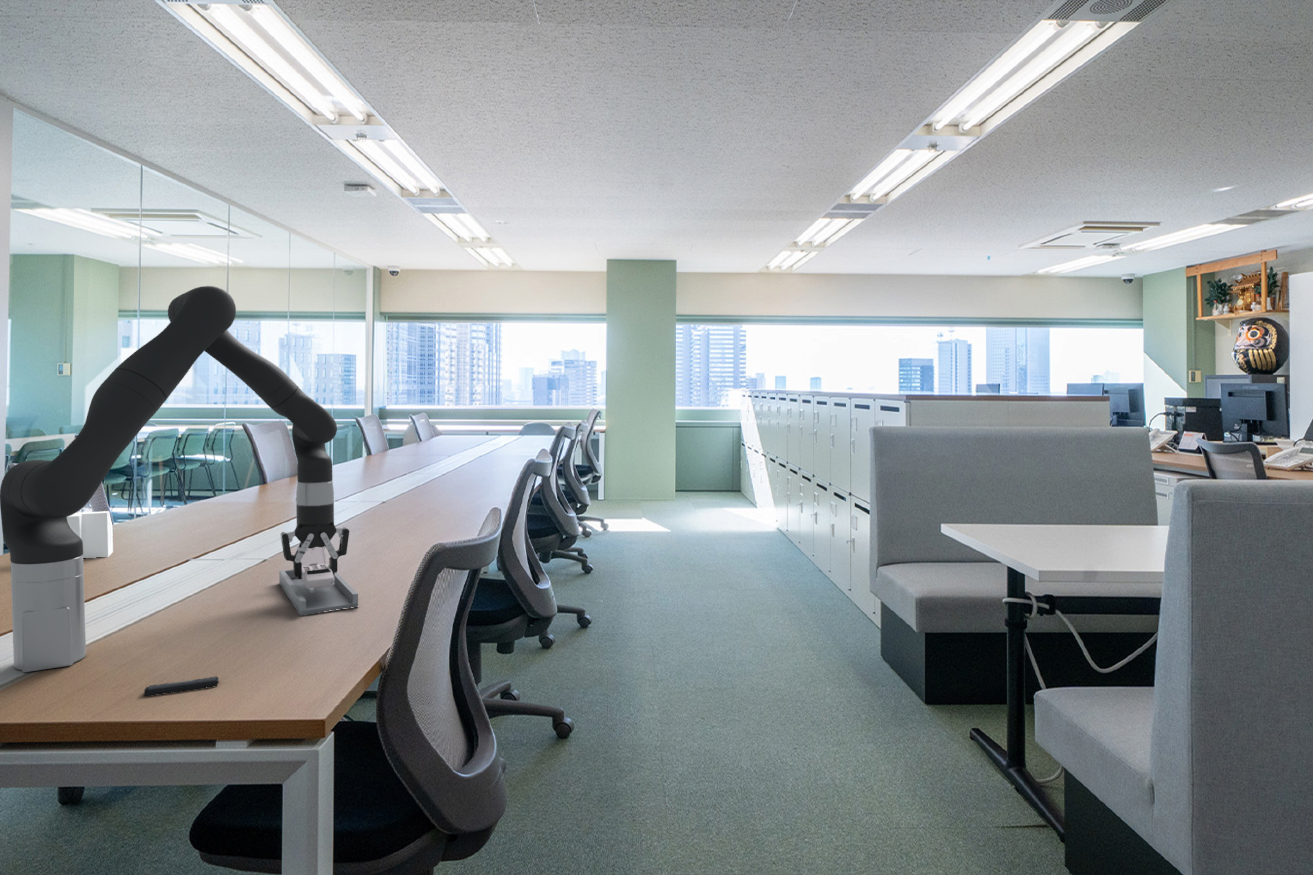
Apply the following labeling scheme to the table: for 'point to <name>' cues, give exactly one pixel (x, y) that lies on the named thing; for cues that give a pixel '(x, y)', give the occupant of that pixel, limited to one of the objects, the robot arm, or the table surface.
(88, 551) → the corner bracket
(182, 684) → the dark grey rounded bar
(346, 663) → the table surface
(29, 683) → the table surface
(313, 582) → the mobile phone
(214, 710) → the table surface
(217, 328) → the robot arm
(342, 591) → the phone dock
